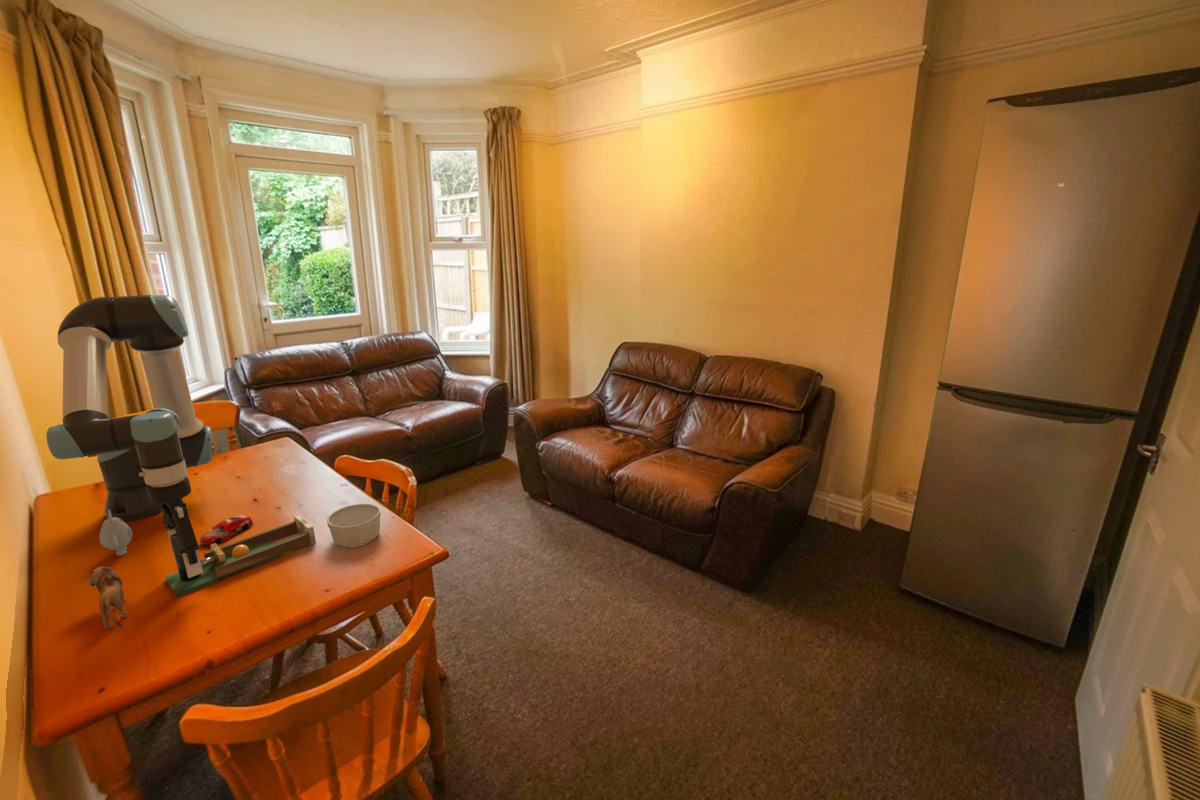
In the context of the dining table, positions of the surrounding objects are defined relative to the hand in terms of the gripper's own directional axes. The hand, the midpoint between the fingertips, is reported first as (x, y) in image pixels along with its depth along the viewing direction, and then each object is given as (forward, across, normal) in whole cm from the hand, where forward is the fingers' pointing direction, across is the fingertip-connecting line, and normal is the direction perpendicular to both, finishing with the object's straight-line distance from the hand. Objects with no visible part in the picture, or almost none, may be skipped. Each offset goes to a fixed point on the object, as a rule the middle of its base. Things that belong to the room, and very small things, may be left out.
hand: (187, 563), depth 124 cm
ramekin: (+5, +10, +35) cm, 37 cm away
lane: (+5, 0, +11) cm, 12 cm away
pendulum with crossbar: (+3, 0, +2) cm, 4 cm away
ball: (+2, 0, +10) cm, 11 cm away
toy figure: (+5, -28, -9) cm, 30 cm away
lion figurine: (+5, +1, -14) cm, 15 cm away
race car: (+5, -18, +12) cm, 22 cm away
